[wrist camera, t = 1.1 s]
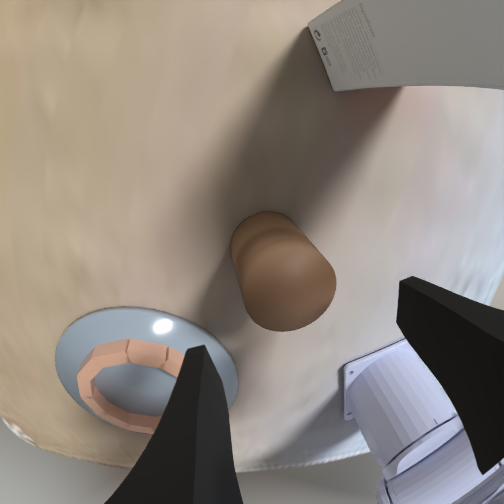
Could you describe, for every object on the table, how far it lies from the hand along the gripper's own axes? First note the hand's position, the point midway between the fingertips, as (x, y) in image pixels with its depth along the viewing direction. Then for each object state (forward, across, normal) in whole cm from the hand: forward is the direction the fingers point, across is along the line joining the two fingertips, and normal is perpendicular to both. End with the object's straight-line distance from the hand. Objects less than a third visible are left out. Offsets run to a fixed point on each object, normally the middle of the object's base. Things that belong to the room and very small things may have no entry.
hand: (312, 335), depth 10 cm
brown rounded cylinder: (+8, 0, 0) cm, 8 cm away
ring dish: (+8, +11, +8) cm, 16 cm away
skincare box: (+8, -8, -10) cm, 15 cm away
